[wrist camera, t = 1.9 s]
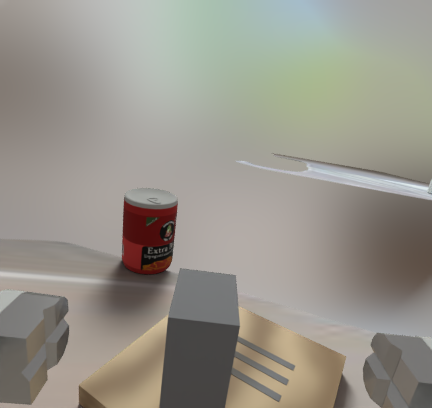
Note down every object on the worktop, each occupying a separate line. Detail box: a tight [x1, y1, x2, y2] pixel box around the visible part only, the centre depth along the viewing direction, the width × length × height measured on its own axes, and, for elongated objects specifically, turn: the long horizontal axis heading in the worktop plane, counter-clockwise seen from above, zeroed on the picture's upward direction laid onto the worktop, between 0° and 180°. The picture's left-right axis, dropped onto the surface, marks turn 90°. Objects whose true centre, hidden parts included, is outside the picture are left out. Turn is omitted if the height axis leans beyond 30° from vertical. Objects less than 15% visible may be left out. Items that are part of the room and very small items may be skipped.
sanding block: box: [159, 269, 240, 408], centre depth 24 cm, size 6×4×10 cm
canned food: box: [122, 188, 178, 274], centre depth 47 cm, size 8×8×11 cm
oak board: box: [79, 306, 346, 408], centre depth 29 cm, size 18×18×2 cm
